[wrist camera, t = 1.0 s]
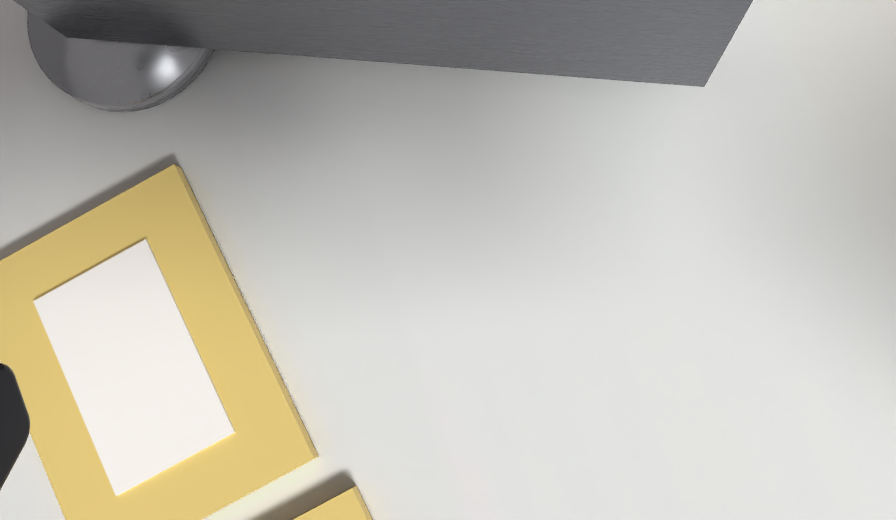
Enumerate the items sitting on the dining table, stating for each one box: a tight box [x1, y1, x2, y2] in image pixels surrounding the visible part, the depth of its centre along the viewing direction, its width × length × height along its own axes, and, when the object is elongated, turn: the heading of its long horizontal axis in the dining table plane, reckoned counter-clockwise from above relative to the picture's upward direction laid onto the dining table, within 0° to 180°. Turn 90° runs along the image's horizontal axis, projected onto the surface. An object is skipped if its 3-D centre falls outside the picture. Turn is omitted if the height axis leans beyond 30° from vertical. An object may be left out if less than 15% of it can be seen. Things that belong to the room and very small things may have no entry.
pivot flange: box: [27, 11, 214, 112], centre depth 21 cm, size 5×5×1 cm
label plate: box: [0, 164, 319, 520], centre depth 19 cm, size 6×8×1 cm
